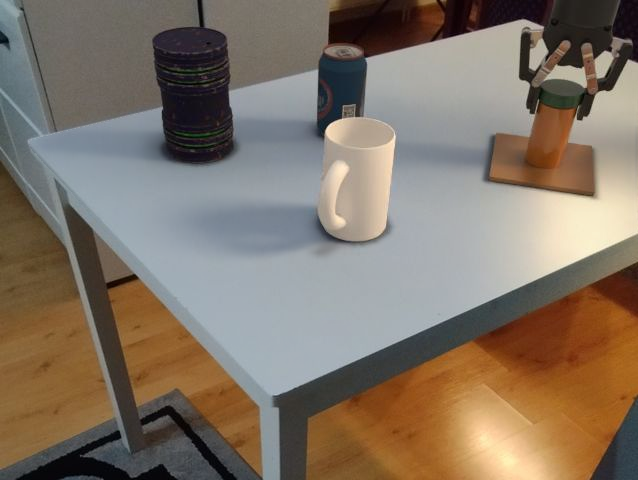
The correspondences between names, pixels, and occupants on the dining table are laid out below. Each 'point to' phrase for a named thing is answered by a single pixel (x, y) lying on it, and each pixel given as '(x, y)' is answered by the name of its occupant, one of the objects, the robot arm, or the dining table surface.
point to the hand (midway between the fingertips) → (555, 114)
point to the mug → (356, 178)
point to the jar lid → (561, 93)
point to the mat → (566, 177)
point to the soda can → (340, 84)
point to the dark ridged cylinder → (194, 93)
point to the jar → (549, 135)
